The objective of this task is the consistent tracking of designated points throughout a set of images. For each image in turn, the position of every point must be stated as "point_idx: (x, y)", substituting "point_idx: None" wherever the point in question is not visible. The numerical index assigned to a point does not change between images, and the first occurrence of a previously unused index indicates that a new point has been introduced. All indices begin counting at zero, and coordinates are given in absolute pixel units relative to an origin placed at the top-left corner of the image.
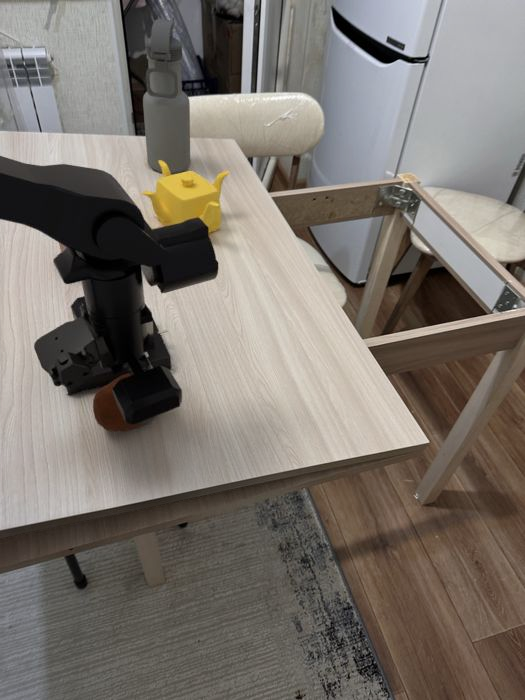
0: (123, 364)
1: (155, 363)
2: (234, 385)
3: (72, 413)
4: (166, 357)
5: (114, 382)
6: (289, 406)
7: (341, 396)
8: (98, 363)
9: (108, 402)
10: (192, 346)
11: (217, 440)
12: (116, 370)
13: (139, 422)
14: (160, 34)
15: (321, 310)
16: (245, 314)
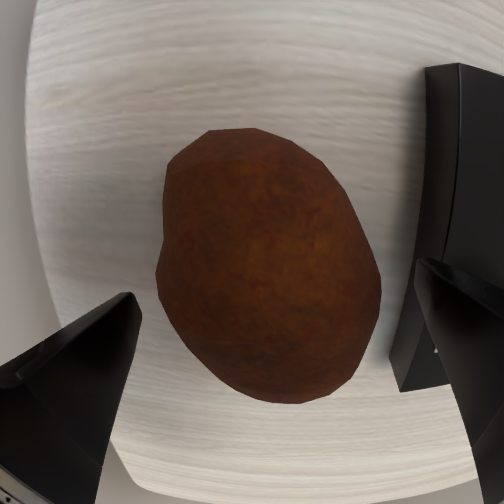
0: (426, 321)
1: (407, 353)
2: (277, 431)
3: (347, 56)
4: (403, 384)
5: (311, 296)
6: (204, 458)
7: (208, 486)
8: (495, 205)
9: (191, 231)
10: (417, 396)
11: (148, 376)
12: (423, 279)
13: (85, 315)
14: None
15: (359, 500)
16: (420, 455)
